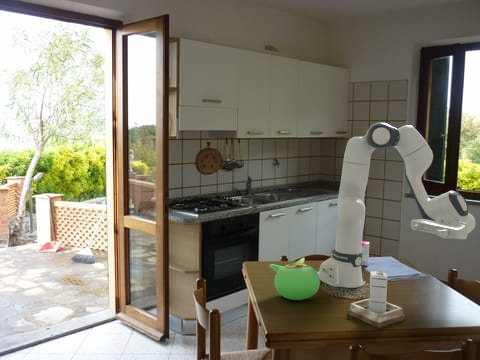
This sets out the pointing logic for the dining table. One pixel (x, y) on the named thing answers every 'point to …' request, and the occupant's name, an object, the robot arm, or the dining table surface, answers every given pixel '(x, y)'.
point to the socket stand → (377, 320)
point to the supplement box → (365, 253)
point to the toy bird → (296, 280)
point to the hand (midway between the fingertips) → (425, 230)
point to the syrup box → (377, 292)
